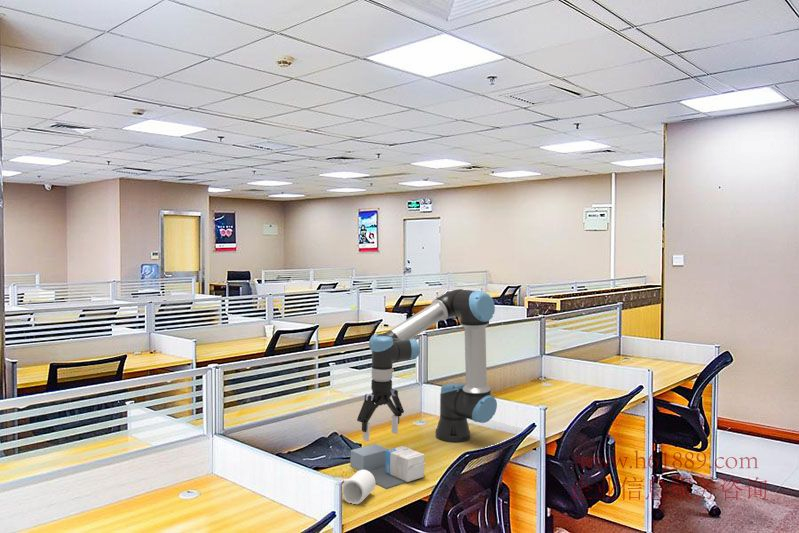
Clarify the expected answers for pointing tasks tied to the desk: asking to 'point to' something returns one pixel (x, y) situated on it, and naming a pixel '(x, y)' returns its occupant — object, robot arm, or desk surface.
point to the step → (368, 457)
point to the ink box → (405, 463)
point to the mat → (385, 478)
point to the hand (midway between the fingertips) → (380, 436)
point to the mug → (358, 486)
